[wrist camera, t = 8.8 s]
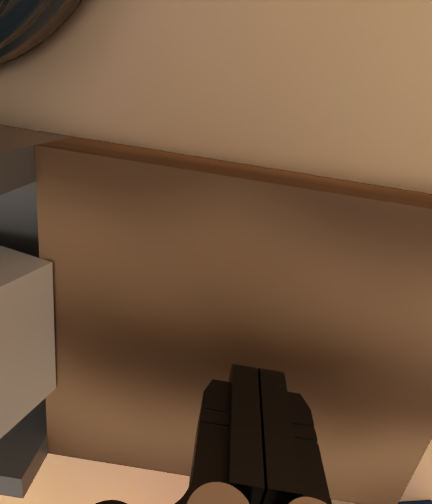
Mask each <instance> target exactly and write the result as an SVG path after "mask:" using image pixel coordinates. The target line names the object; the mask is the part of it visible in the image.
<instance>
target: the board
mask: <svg viewBox="0 0 432 504" xmlns="http://www.w3.org/2000/svg"><path fill="white" fill-rule="evenodd" d="M34 151H35V174H36V196H37V218H38V241H39V258H41V259H44V260H47V261H50V262H52V269H53V302H54V335H55V367H56V389H55V390H54V391H52V392H51V393H50V394H49V395H48V396H47V397H46V420H47V443H48V453H50V454H56V455H63V456H69V457H75V458H81V459H87V460H93V461H100V462H106V463H112V464H118V465H124V466H130V467H137V468H143V469H149V470H155V471H161V472H167V473H174V474H180V475H186V476H190V474H191V467H192V460H193V453H194V445H195V438H196V431H197V425H198V420H199V414H200V408H201V403H202V397H203V392H204V390H205V389H206V387H207V386H208V385H209V383H210V382H211V381H212V379H214V380H220V381H226V382H228V380H229V376H230V371H231V367H232V364H238V365H244V366H250V367H256V368H257V369H258V368H262V369H268V370H274V371H280V372H284V374H285V379H286V386H287V392H293V393H299V394H301V395H302V397H303V398H304V400H305V401H306V403H307V404H308V406H309V407H310V409H311V413H312V417H313V422H314V429H315V431H316V435H317V440H318V441H317V444H319V449H320V453H321V458H322V462H323V467H324V472H325V476H326V481H327V485H328V490H329V494H330V499H334V500H340V501H346V502H353V503H359V504H398V502H399V500H400V498H401V496H402V494H403V493H404V491H405V489H406V487H407V485H408V483H409V481H410V479H411V477H412V475H413V473H414V471H415V470H416V468H417V466H418V464H419V462H420V460H421V458H422V456H423V454H424V452H425V450H426V448H427V447H428V445H429V443H430V441H431V439H432V194H426V193H419V192H413V191H407V190H401V189H394V188H388V187H382V186H376V185H370V184H363V183H357V182H351V181H345V180H338V179H332V178H326V177H320V176H313V175H307V174H301V173H295V172H288V171H282V170H276V169H270V168H263V167H257V166H251V165H245V164H239V163H232V162H226V161H220V160H214V159H207V158H201V157H195V156H189V155H182V154H176V153H170V152H164V151H157V150H151V149H145V148H139V147H132V146H126V145H120V144H114V143H108V142H101V141H95V140H89V139H83V138H76V137H71V138H66V139H61V140H56V141H52V142H47V143H42V144H37V145H34Z"/></svg>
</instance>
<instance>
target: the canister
mask: <svg viewBox="0 0 432 504" xmlns="http://www.w3.org/2000/svg"><path fill="white" fill-rule="evenodd" d="M80 1H81V0H0V64H1V63H4V62H7V61H9V60H12V59H14V58H16V57H18V56H20V55H22V54H24V53H26V52H27V51H29V50H31V49H32V48H34V47H35V46H37V45H38V44H39V43H41V42H42V41H44V40H45V39H46V38H48V37H49V36H50V35H51V34H52V33H53V32H54V31H55V30H56V29H57V28H59V27H60V25H61V24H62V23H63V22H64V21H65V20H66V19H67V18H68V17H69V16H70V14H71V13H72V12H73V11H74V9H75V8H76V7H77V5H78V4H79V3H80Z"/></svg>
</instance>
